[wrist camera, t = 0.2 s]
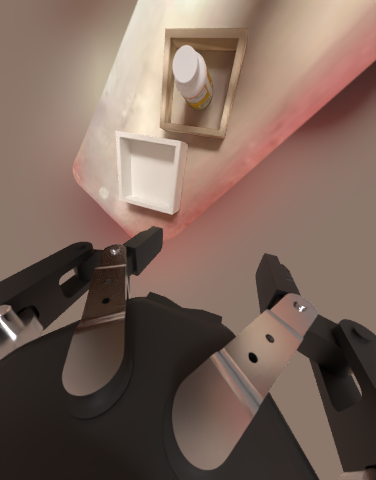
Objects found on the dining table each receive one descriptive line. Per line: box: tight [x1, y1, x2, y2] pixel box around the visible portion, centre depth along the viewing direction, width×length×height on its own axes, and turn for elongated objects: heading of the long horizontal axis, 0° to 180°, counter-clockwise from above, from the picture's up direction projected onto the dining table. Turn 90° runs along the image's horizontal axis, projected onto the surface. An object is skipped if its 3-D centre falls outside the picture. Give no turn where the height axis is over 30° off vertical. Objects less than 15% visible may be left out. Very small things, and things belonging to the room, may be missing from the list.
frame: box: [160, 28, 248, 139], centre depth 29 cm, size 14×14×3 cm
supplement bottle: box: [173, 45, 213, 110], centre depth 26 cm, size 5×5×10 cm
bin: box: [116, 131, 188, 215], centre depth 38 cm, size 16×16×5 cm
